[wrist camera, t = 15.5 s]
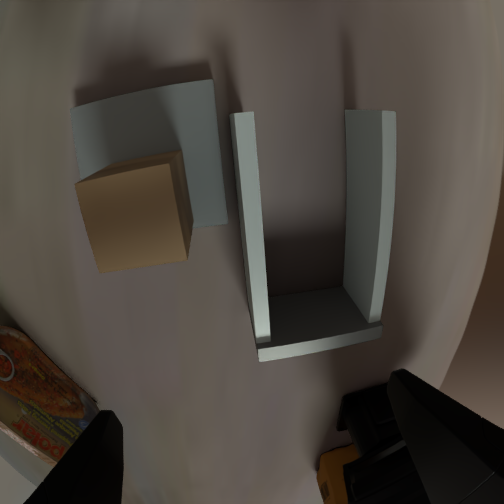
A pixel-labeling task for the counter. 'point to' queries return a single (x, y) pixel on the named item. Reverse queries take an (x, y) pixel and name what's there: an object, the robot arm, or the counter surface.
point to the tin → (39, 399)
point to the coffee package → (334, 474)
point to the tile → (158, 138)
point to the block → (138, 212)
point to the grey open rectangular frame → (356, 244)
